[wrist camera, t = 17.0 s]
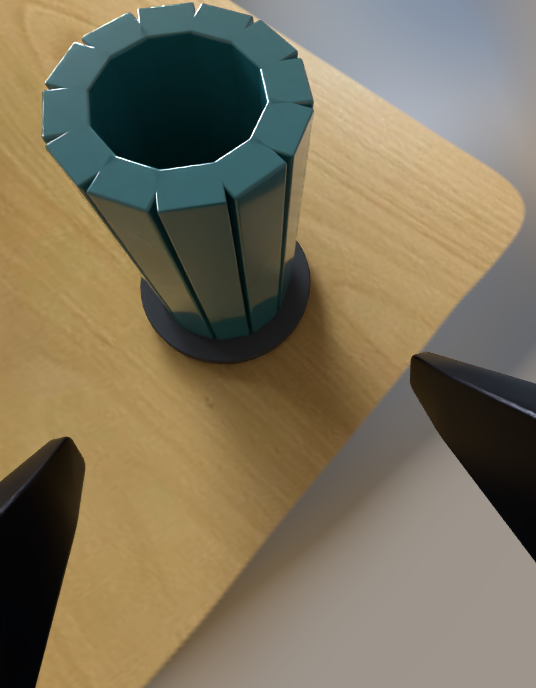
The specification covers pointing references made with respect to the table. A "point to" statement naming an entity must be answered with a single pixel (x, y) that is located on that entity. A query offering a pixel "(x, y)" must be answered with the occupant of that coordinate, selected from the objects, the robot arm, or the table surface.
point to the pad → (239, 346)
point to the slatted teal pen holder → (189, 155)
